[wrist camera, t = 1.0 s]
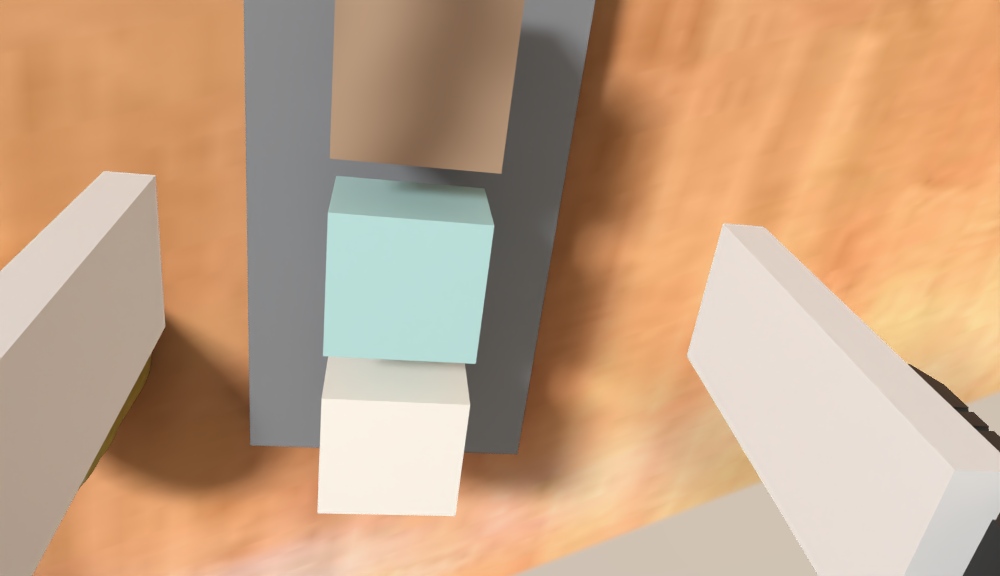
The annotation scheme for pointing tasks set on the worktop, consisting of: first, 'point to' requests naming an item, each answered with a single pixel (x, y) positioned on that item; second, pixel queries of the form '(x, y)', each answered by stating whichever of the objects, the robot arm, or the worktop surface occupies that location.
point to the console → (311, 176)
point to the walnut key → (424, 81)
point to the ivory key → (392, 436)
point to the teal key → (406, 270)
